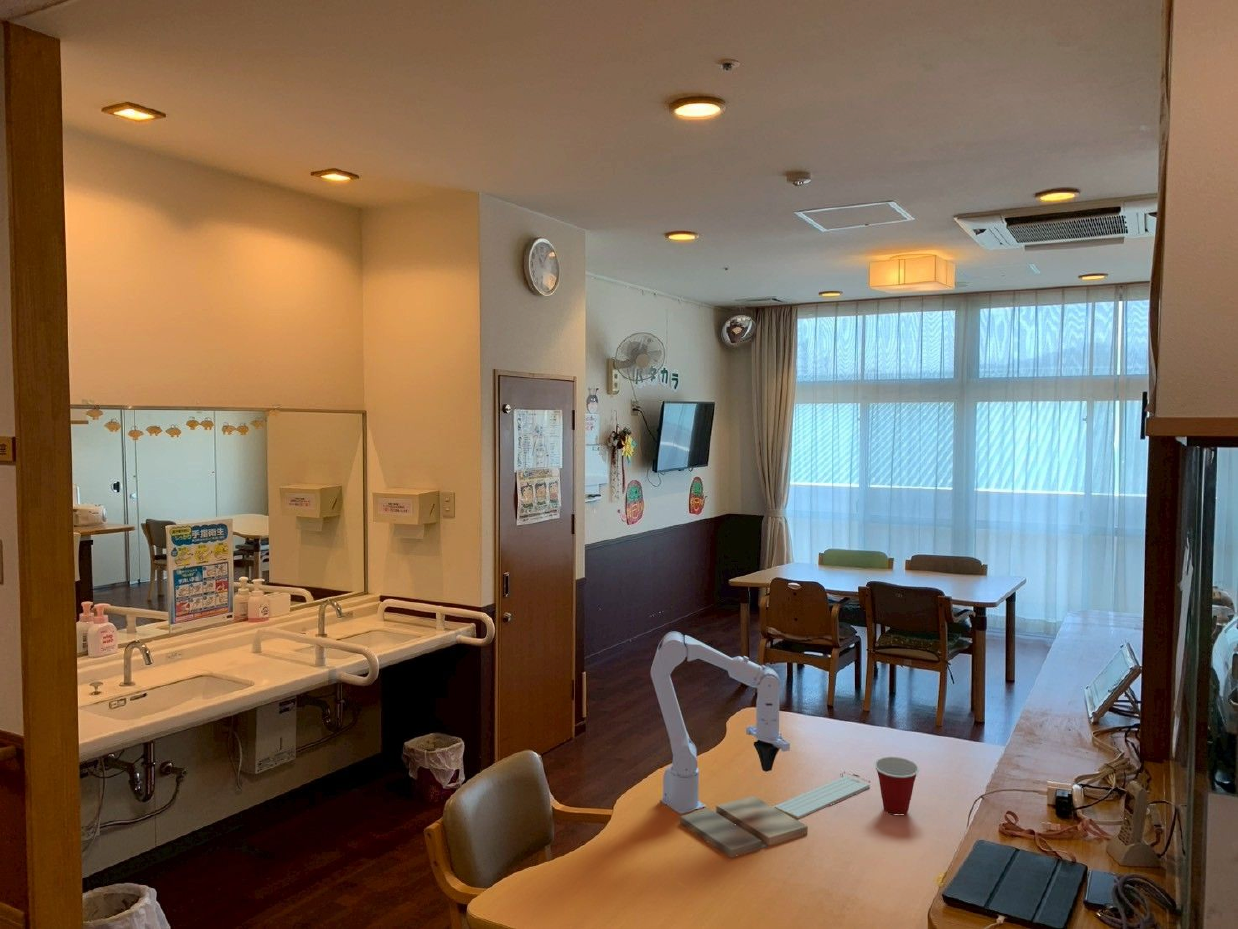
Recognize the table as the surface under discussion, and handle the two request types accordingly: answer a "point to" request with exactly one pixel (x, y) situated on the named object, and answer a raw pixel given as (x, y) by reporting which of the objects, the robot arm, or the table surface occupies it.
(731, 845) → the floor panel
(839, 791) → the baseboard
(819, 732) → the table surface
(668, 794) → the robot arm
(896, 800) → the plastic cup
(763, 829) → the plank
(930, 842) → the table surface
